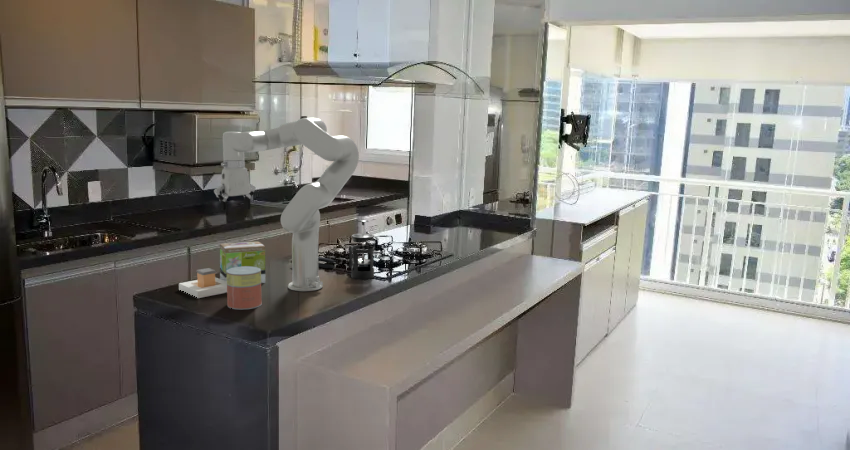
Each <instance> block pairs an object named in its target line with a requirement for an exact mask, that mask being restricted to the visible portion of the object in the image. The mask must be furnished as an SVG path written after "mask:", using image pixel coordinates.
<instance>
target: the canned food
mask: <svg viewBox="0 0 850 450" xmlns="http://www.w3.org/2000/svg"><path fill="white" fill-rule="evenodd" d="M226 272H227V292H226V296H227V299H226V302H227V303H226V305H227V308H229V309H231V308H232V310H240V311H241V310H243V311H244V310H245V311H246V310H252V309H253V310H254V309H257V308H259V307H261V306H262V304H263V302H262V283H261V269H260V268H258V267H253V266H240V267H233V268H230V269H227V270H226Z"/></svg>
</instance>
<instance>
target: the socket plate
mask: <svg viewBox="0 0 850 450" xmlns="http://www.w3.org/2000/svg"><path fill="white" fill-rule="evenodd" d="M178 290H179V291H180V290H181V292H182V291H184V292H183V293H185V292H186V293H185V294H187V293H188V294H187V295H189V294H190V295H189V296H192V295H193V296H192V297H194V296H195V297H194V298H196V297H197V298H196V299H200V298H205V297H210V296H216V295H221V294H227V281H224V280H222V279H220V277H219V278H218V277H216V276H215V285H214V286H209V287H204V288H200V287H198V279H195V280H189V281H184V282H179V283H178Z"/></svg>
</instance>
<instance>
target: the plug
mask: <svg viewBox="0 0 850 450" xmlns="http://www.w3.org/2000/svg"><path fill="white" fill-rule="evenodd" d="M216 272H217V271H216V270H215V269H212V268H210V267H208V268H207V267H206V268H201V269H196V273H197V275H196V276H197V278H196V280H198V287H200V288H204V287H209V286H214V285H215V277H216Z"/></svg>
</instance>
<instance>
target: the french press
mask: <svg viewBox="0 0 850 450" xmlns="http://www.w3.org/2000/svg"><path fill="white" fill-rule="evenodd" d="M357 222H359V223H361V225H362V233H361V232H360V233H354V234H352V235H351V238H352V242H354V243H360V245H351V246H349V247H348V267H349V268H350V269H351V275H350V278H351V279H353V280H358V281H359V280H360V281H363V280H364V281H365V280H372V279H374V278H375V277H374V275H375V268H374V252H375V246H372V245H367V244H364V243H365V242H368V241H369V240H370V241H374V238H375V235H374V234H373V233H365V232H364V231H365V229H364V227H365V223H369V220H368V219H359V220H357ZM359 254H367V258H364V256H362V258H359ZM373 277H374V278H373Z"/></svg>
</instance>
